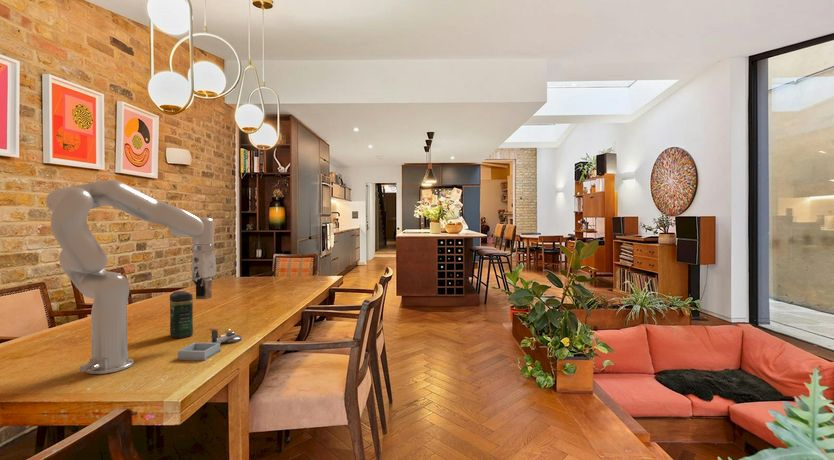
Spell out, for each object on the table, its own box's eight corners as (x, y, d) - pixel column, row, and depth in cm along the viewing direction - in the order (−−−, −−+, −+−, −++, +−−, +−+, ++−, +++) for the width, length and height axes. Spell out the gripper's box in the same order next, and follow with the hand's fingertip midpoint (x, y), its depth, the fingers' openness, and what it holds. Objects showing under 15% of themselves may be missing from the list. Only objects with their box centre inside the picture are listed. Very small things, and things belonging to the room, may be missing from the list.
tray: (204, 360, 144) (204, 351, 144) (177, 359, 144) (177, 351, 144) (220, 351, 153) (220, 343, 153) (194, 350, 154) (194, 342, 154)
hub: (235, 343, 162) (235, 340, 162) (215, 343, 163) (215, 340, 163) (245, 337, 170) (245, 334, 170) (226, 337, 171) (226, 334, 171)
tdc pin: (228, 336, 171) (228, 330, 171) (224, 336, 171) (224, 330, 171) (231, 335, 173) (231, 328, 173) (226, 335, 173) (226, 328, 173)
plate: (235, 337, 171) (235, 336, 171) (222, 339, 169) (222, 338, 169) (233, 334, 176) (233, 333, 176) (220, 336, 173) (220, 335, 173)
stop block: (205, 299, 162) (205, 278, 162) (195, 299, 162) (195, 278, 162) (211, 297, 166) (211, 277, 166) (201, 297, 166) (201, 277, 166)
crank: (229, 335, 169) (228, 321, 168) (237, 336, 168) (237, 322, 167) (208, 344, 157) (208, 329, 157) (217, 344, 156) (217, 329, 156)
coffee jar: (195, 336, 173) (195, 291, 172) (174, 339, 167) (173, 294, 166) (188, 331, 180) (188, 288, 179) (168, 334, 174) (167, 291, 173)
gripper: (200, 250, 155) (200, 299, 155) (223, 247, 172) (224, 291, 172) (181, 250, 155) (181, 298, 156) (206, 247, 172) (206, 291, 173)
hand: (203, 294), depth 164 cm, fingers closed on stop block, 4 cm apart
